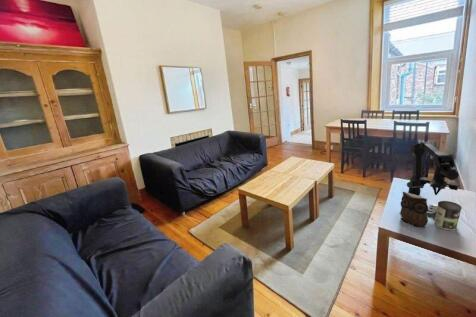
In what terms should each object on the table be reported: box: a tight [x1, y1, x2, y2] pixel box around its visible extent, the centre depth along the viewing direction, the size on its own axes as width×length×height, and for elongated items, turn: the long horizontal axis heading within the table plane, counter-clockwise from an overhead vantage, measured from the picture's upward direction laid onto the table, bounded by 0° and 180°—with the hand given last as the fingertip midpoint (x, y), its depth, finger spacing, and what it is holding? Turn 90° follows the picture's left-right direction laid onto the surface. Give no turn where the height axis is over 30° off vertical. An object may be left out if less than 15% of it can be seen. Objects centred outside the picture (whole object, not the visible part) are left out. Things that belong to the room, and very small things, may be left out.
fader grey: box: [432, 203, 438, 212], centre depth 146 cm, size 3×2×4 cm
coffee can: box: [433, 200, 462, 231], centre depth 134 cm, size 10×10×14 cm
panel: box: [426, 204, 436, 218], centre depth 146 cm, size 12×12×3 cm
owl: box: [399, 191, 429, 229], centre depth 139 cm, size 13×13×20 cm
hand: (435, 194), depth 147 cm, fingers closed
